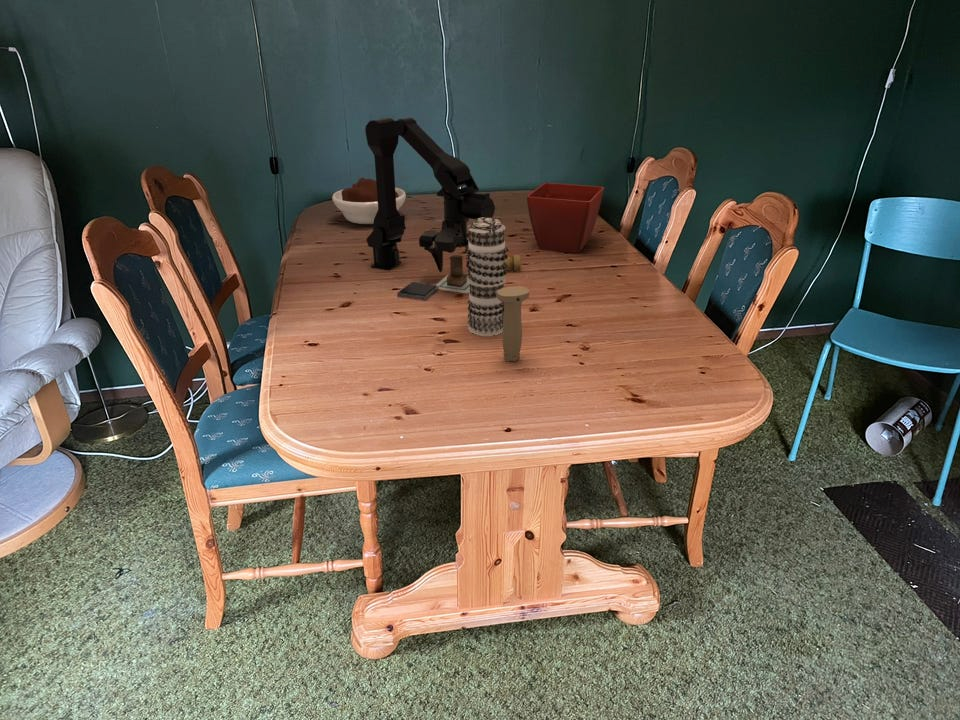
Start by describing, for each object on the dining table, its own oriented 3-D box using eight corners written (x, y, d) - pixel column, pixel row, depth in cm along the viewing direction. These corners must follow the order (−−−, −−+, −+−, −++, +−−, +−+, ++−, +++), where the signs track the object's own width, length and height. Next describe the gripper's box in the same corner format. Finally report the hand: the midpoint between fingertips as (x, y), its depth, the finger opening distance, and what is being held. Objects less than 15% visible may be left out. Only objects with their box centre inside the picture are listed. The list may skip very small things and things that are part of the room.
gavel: (482, 240, 195) (514, 239, 195) (482, 254, 197) (514, 254, 197) (484, 258, 176) (521, 257, 176) (484, 274, 178) (520, 273, 178)
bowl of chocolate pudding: (319, 223, 222) (314, 179, 215) (370, 208, 240) (366, 167, 233) (372, 235, 209) (368, 189, 202) (421, 218, 227) (419, 175, 220)
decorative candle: (493, 340, 140) (494, 229, 129) (458, 331, 145) (456, 222, 133) (514, 325, 147) (516, 218, 135) (480, 317, 151) (479, 212, 140)
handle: (492, 356, 134) (493, 289, 127) (520, 351, 136) (522, 284, 129) (502, 366, 130) (503, 298, 123) (530, 360, 132) (533, 293, 125)
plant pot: (523, 251, 194) (525, 195, 187) (542, 233, 210) (544, 181, 202) (585, 258, 188) (590, 201, 180) (600, 240, 204) (604, 186, 196)
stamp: (447, 285, 169) (446, 258, 166) (452, 280, 172) (452, 253, 169) (461, 287, 168) (460, 260, 164) (466, 282, 171) (466, 255, 168)
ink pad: (397, 296, 163) (397, 291, 162) (411, 285, 170) (411, 281, 169) (426, 300, 160) (425, 295, 160) (439, 289, 167) (438, 284, 166)
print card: (432, 288, 168) (432, 287, 168) (447, 275, 176) (447, 274, 176) (467, 293, 165) (467, 292, 164) (481, 280, 173) (481, 279, 173)
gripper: (407, 220, 158) (411, 279, 165) (478, 227, 152) (478, 289, 159) (427, 208, 167) (429, 265, 174) (494, 215, 161) (494, 274, 168)
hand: (456, 273), depth 169 cm, fingers open, 9 cm apart
